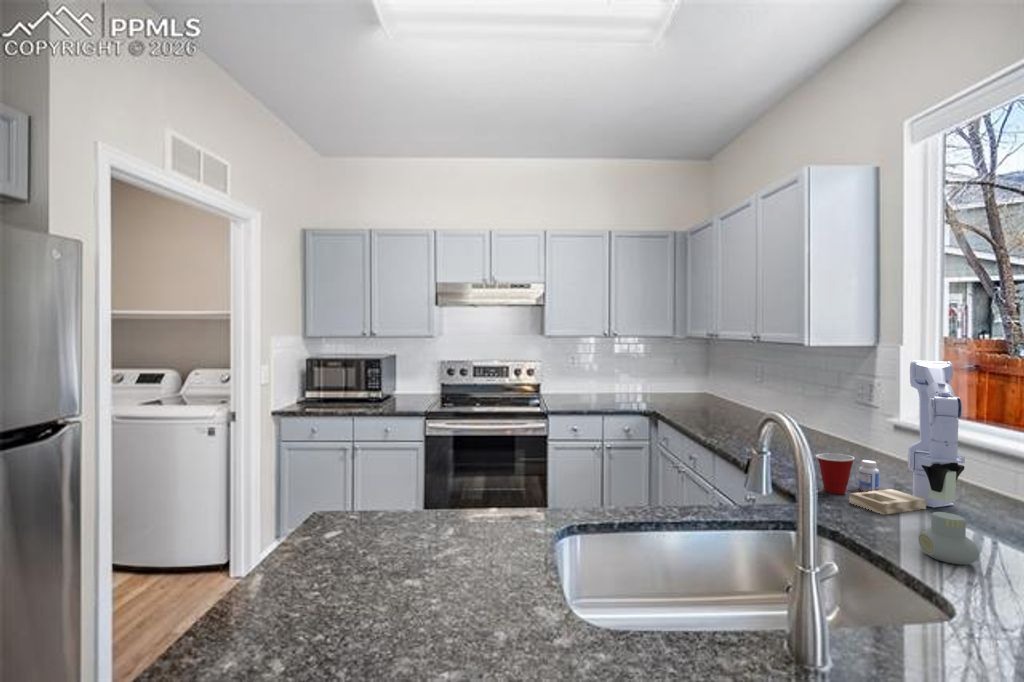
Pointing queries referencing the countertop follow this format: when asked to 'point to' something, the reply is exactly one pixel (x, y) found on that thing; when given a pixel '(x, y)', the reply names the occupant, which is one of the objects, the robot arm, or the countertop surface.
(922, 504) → the socket rail
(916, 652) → the countertop surface
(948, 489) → the square peg
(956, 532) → the air freshener
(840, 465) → the plastic cup
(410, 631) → the countertop surface
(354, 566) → the countertop surface
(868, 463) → the pill bottle
